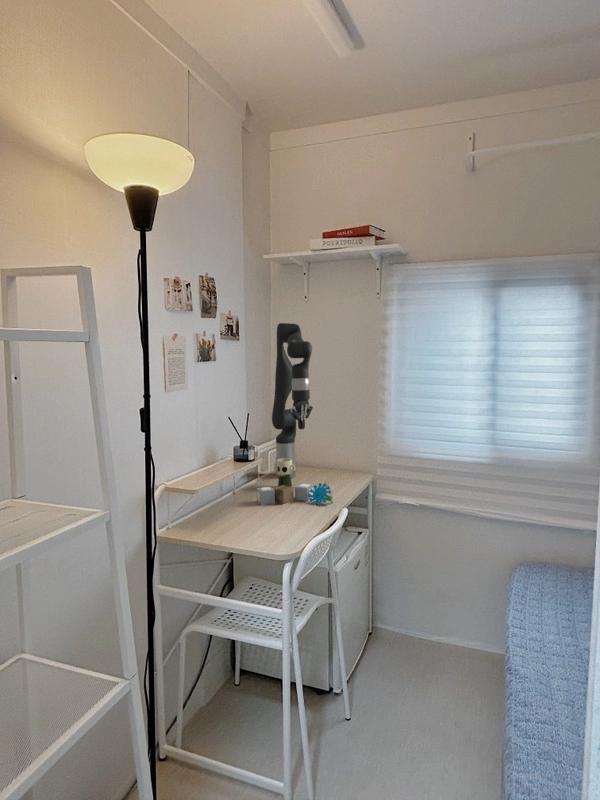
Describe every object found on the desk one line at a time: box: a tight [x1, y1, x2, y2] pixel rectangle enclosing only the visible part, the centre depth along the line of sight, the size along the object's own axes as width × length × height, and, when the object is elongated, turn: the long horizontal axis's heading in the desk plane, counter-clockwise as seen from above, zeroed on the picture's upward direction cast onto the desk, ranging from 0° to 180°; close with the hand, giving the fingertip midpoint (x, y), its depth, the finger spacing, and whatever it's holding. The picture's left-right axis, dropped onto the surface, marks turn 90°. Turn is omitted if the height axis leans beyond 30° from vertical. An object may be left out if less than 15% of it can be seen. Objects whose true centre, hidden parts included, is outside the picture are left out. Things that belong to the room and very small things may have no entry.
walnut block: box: [272, 485, 295, 505], centre depth 222 cm, size 6×6×6 cm
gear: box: [308, 482, 334, 506], centre depth 221 cm, size 11×6×10 cm
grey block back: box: [294, 483, 315, 502], centre depth 225 cm, size 6×6×6 cm
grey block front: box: [256, 486, 276, 506], centre depth 222 cm, size 6×6×6 cm
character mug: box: [273, 458, 296, 487], centre depth 243 cm, size 11×7×13 cm, turn 63°
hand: (301, 429), depth 228 cm, fingers closed
